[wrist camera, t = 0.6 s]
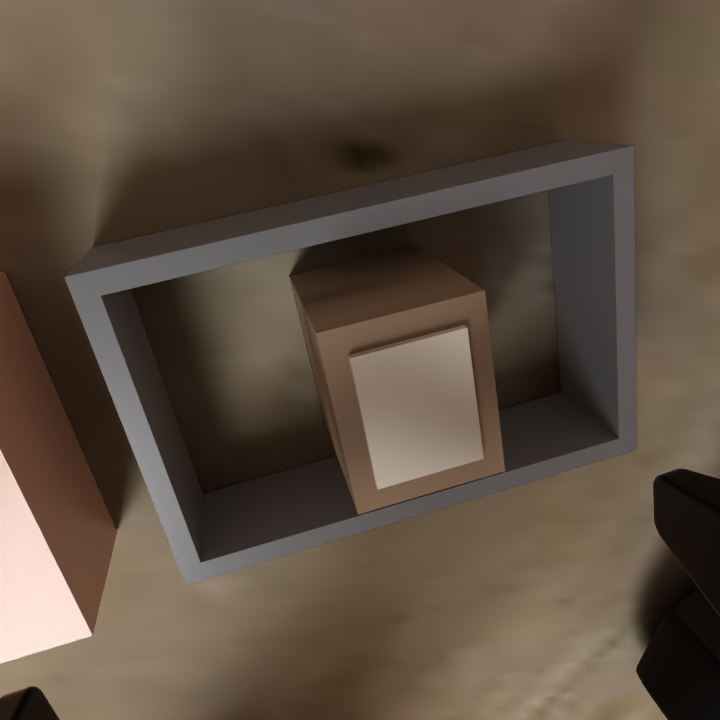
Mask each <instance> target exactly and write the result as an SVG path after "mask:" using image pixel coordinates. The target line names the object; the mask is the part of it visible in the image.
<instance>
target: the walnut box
mask: <svg viewBox="0 0 720 720" xmlns="http://www.w3.org/2000/svg"><path fill="white" fill-rule="evenodd" d="M289 277H290V281H291V285H292V289H293V293H294V298H295V302H296V306H297V310H298V314H299V318H300V322H301V327H302V331H303V335H304V339H305V343H306V347H307V351H308V355H309V360H310V364H311V368H312V372H313V376H314V380H315V384H316V389H317V393H318V397H319V401H320V405H321V409H322V413H323V418H324V421H325V423H326V426H327V429H328V432H329V435H330V437H331V440H332V443H333V446H334V449H335V451H336V454H337V457H338V460H339V463H340V465H341V468H342V471H343V474H344V476H345V479H346V482H347V485H348V488H349V490H350V493H351V496H352V499H353V502H354V504H355V507H356V510H357V513H358V514H361V513H365V512H368V511H372V510H375V509H378V508H382V507H385V506H389V505H392V504H395V503H399V502H402V501H405V500H409V499H412V498H416V497H419V496H422V495H426V494H429V493H432V492H436V491H439V490H443V489H446V488H449V487H453V486H456V485H460V484H463V483H466V482H470V481H473V480H476V479H480V478H483V477H487V476H490V475H493V474H497V473H500V472H503V471H505V465H504V456H503V447H502V438H501V429H500V420H499V411H498V402H497V393H496V384H495V375H494V366H493V357H492V348H491V339H490V330H489V321H488V311H487V302H486V293H485V290H484V289H482V288H481V287H479V286H478V285H476V284H475V283H473V282H471V281H470V280H468V279H467V278H465V277H464V276H462V275H461V274H459V273H457V272H456V271H454V270H453V269H451V268H450V267H448V266H447V265H445V264H443V263H442V262H440V261H439V260H437V259H436V258H434V257H432V256H431V255H429V254H428V253H426V252H425V251H423V250H422V249H420V248H418V247H417V246H415V245H414V246H410V247H406V248H402V249H398V250H394V251H390V252H385V253H381V254H377V255H373V256H369V257H365V258H361V259H356V260H352V261H348V262H344V263H340V264H336V265H332V266H328V267H323V268H319V269H315V270H311V271H307V272H303V273H299V274H294V275H290V276H289Z"/></svg>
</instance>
